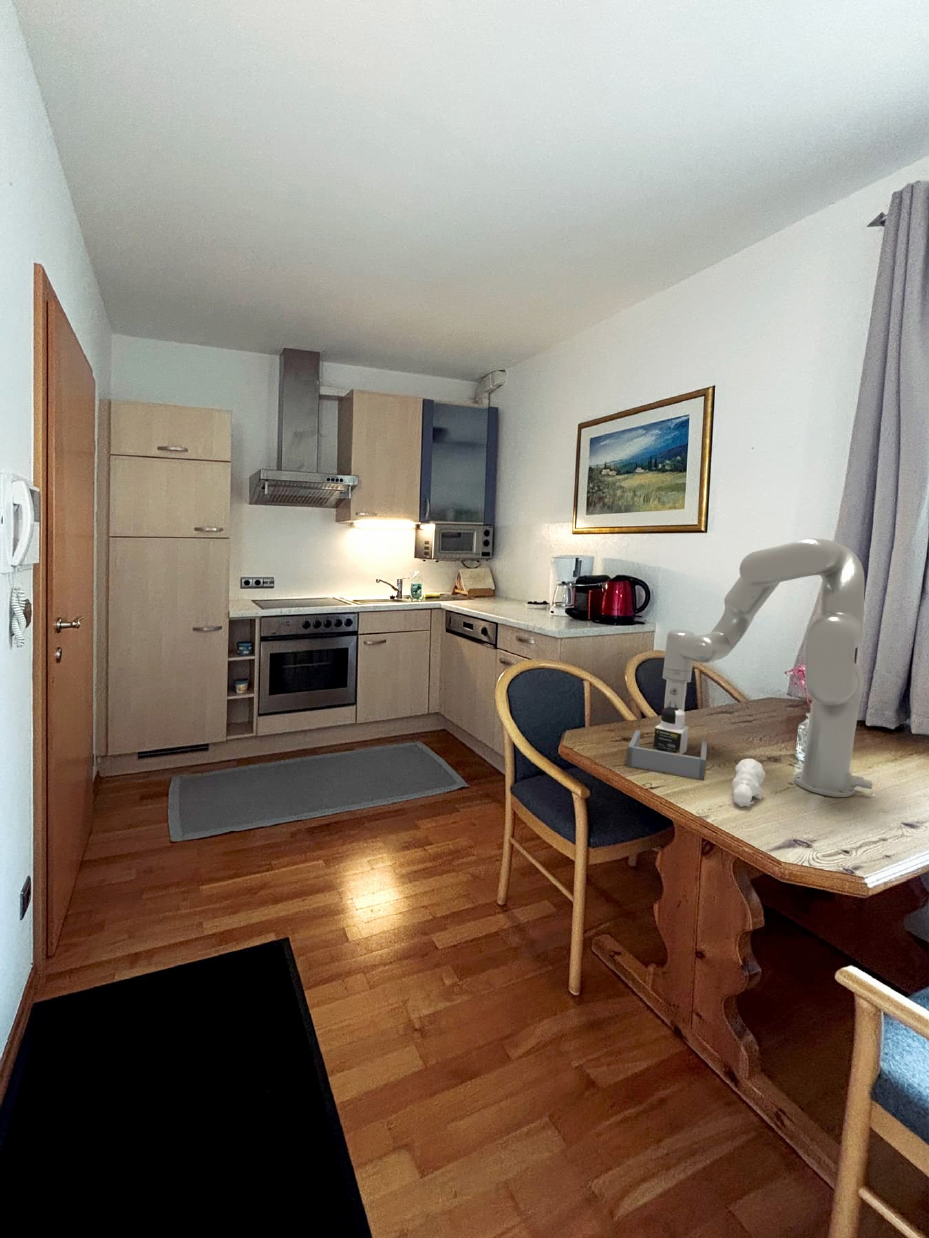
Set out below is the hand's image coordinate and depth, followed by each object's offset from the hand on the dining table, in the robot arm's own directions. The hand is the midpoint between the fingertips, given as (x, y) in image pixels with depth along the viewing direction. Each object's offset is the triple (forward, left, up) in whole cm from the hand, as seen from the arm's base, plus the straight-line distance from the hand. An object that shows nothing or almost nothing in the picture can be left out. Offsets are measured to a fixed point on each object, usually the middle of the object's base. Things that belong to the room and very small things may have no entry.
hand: (670, 736), depth 172 cm
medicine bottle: (-1, +7, -2) cm, 7 cm away
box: (-1, +16, -2) cm, 16 cm away
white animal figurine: (-19, +32, -2) cm, 37 cm away
